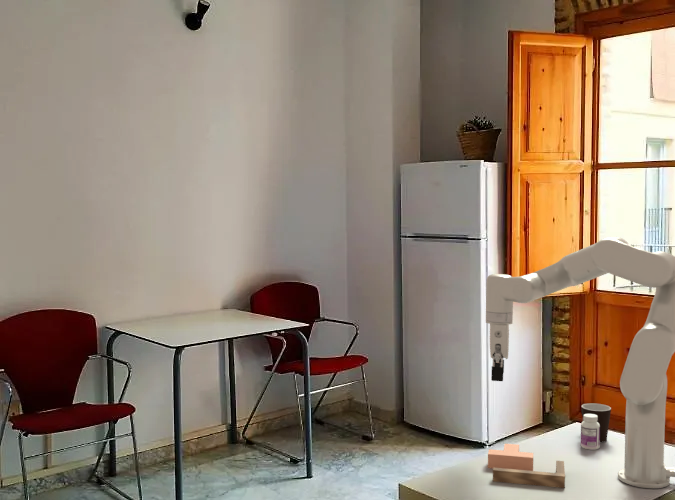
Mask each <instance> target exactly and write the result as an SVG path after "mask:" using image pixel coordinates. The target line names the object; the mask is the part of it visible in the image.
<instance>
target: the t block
mask: <svg viewBox="0 0 675 500" xmlns="http://www.w3.org/2000/svg"><path fill="white" fill-rule="evenodd" d="M493 468H504V469H516V470H527V471H534V452H528V451H520V444H517V443H516V444H515V443H514V444H513V443H504V445H503V450H501V449H492V448H491V449H489V448H488V453H487V469H493Z"/></svg>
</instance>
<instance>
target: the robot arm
mask: <svg viewBox="0 0 675 500" xmlns="http://www.w3.org/2000/svg"><path fill="white" fill-rule="evenodd" d="M607 274H610V275H613V276H615V277H617V278H618V277H619V278H621V279H625V280H627V281H629V282H631V283H634V284H638V285H640V286H644V287H646V288H647V287H648V288H652V289H653V288H655V293H654V297H653V299H652V302H651V304H650V308H649V311H648V314H647V318H646V321H645V322H644V324H643V327H641V329H639V330H638V331H637V333H636V334H635V335H634V338H633V340H632V342H631V344H630V348H629V351H628V354H627V356H626V357H627V358H626V361H625V363H624V367H623V370H622V373H621V375H620V379H619V387H620V391H621V393H622V395H623V396H624V398H625V400H626V404H625V429H624V430H625V431H624V433H625V434H624V441H625V442H624V468H622V469H620V470H619V471H618V472H617V478H618V480H619V481H621V482H622V483H625V484H627V485H630V486H633V487H636V488H642V489H643V488H644V489H663V488H666V487H668V486H669V485H670V483H671V482H670V481H671V480H670V479H671V477H672V478H675V467H667V466H666V464H665V462H664V461H665V431H666V429H665V428H666V427H665V425H666V405H667V393H668V375H667V370H668V368H669V365H670V362H671V359H672V356H674V354H675V255H673V254H671V253H670V252H666V251H655V252H650V251H648V250H645V249H642V248H638V247H635V246H632V245H630V244H629V243H628V242H627V241H626V240H625V239H624V238H621V237H618V236H610V237H606V238H603V239H600V240H598V241H597V242H595V243H594V244H590V245H588V246H586V247H584V248H582V249H578V250H577V251H574V252H572V253H568V254H567V255H564V256H563V257H562V258H561V259H560V260H558V261H557V262H555V263H553V264H551V265H549V266H546V267H544V268H541V269H539V270H537V271H533V272H531V273H527V274H524V275H521V276H512V275H509V274H507V273H506V274H505V273H504V274H503V273H494V274H489V275H488V276H487V277H486V286H485V287H486V289H485V290H486V292H485V293H486V294H485V296H486V297H485V301H486V302H485V323H486V324H489V353H490V359H491V360H492V366H491V381H492V382H503V381H504V373H505V360H507V359H509V346H510V345H509V344H510V343H509V342H510V329H509V328H510V327H509V326H510V325H512V324H513V320H514V319H513V318H514V317H513V313H514V302H515V303H519V304H528V303H531V302H533V301H536V300H538V299H541V298H545V297H546V296H548V295H551V294H554V293H556V292H559V291H561V290H564V289H567V288H570V287H576V286H579V285H582V284H584V283H586V282H589V281H591V280H593V279H597V278H600V277H601V276H604V275H607ZM504 358H505V359H504Z"/></svg>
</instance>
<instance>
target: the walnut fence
mask: <svg viewBox="0 0 675 500" xmlns="http://www.w3.org/2000/svg"><path fill="white" fill-rule="evenodd" d="M555 461H556V462H555V472H546V471H536V470H533V471H527V470H516V469H504V468H492V482H497V483H507V484H517V485H528V486H537V487H549V488H561V489H565V488H566V470H565V461H564V460H555Z"/></svg>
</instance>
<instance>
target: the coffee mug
mask: <svg viewBox="0 0 675 500" xmlns="http://www.w3.org/2000/svg"><path fill="white" fill-rule="evenodd" d="M580 412H581V416H582V417H583V416H584V414H595V415H597V416H598V420H597V422H598V423H599V424H600V443H605V442H607V439H608V435H609V434H608V432H609V426H610V419H611V412H612V407H610V406H609V405H606V404H601V403H583V404H582V405H581V408H580ZM583 421H584V419H583V418H582V422H583Z"/></svg>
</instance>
